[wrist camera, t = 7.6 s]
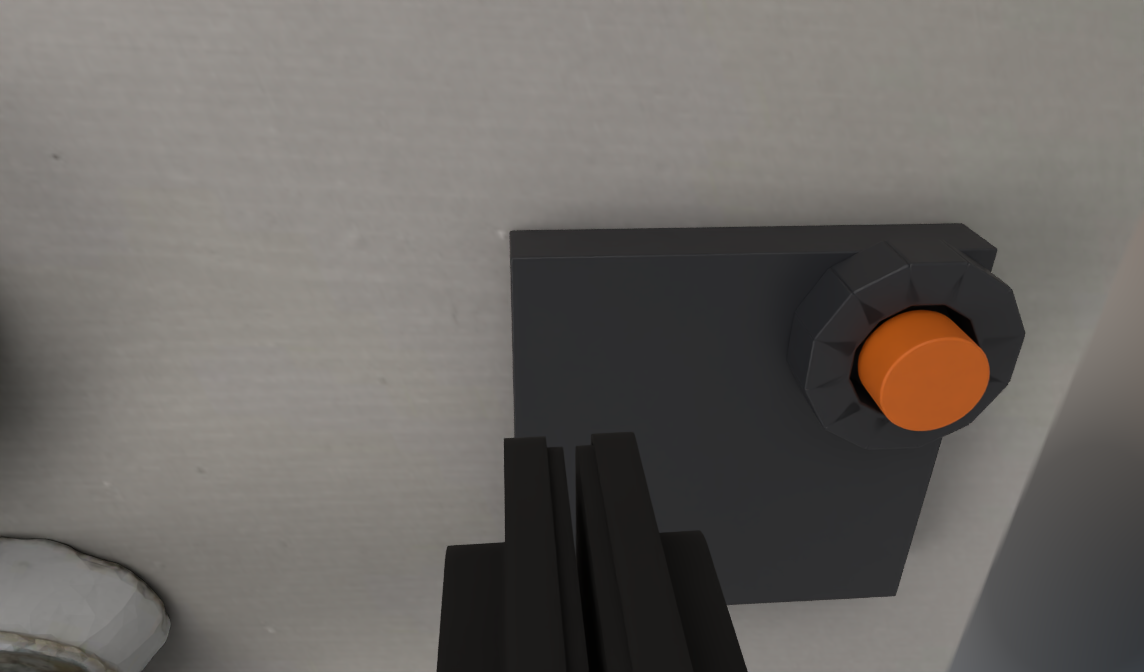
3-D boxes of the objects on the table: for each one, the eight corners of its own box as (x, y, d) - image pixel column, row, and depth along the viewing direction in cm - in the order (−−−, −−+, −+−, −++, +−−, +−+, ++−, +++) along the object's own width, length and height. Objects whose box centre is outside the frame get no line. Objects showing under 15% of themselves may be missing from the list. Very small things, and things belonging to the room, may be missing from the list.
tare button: (867, 309, 21) (893, 339, 19) (972, 307, 21) (1004, 336, 20) (847, 400, 22) (870, 434, 21) (946, 397, 22) (974, 430, 21)
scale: (508, 217, 22) (511, 271, 19) (978, 210, 23) (1050, 260, 20) (517, 574, 29) (520, 656, 26) (882, 556, 30) (927, 633, 27)
